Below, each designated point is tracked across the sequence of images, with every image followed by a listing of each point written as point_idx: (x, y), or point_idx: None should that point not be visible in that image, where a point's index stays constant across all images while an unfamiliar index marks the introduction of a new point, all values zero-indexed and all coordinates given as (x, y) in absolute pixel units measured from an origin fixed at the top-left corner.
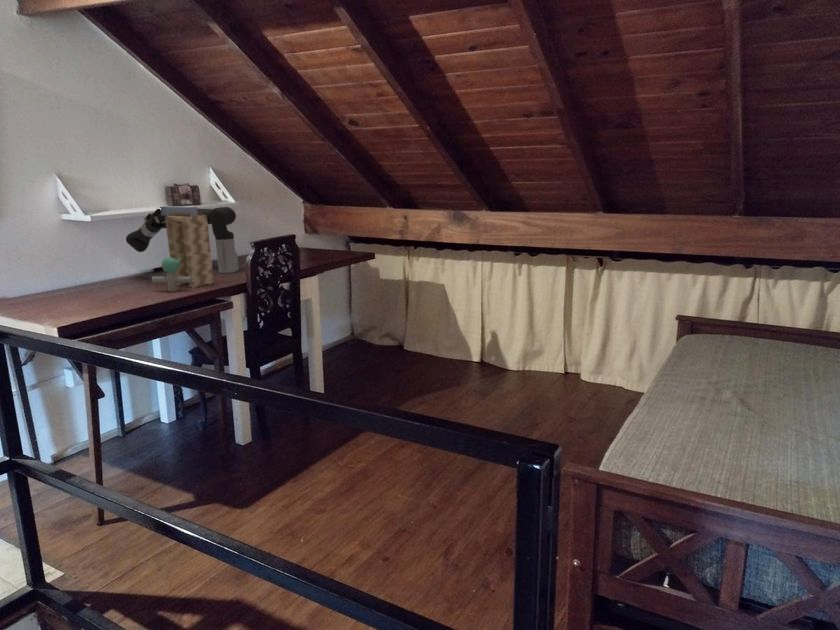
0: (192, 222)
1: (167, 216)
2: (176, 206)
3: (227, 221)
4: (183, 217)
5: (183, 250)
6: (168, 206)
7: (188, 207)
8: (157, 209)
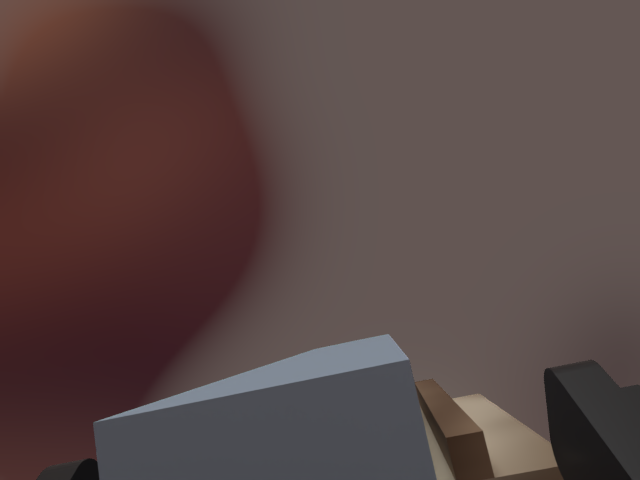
0: None
1: (539, 461)
2: (276, 365)
3: None
4: (481, 395)
5: None
6: (280, 372)
7: (383, 335)
8: (613, 381)
